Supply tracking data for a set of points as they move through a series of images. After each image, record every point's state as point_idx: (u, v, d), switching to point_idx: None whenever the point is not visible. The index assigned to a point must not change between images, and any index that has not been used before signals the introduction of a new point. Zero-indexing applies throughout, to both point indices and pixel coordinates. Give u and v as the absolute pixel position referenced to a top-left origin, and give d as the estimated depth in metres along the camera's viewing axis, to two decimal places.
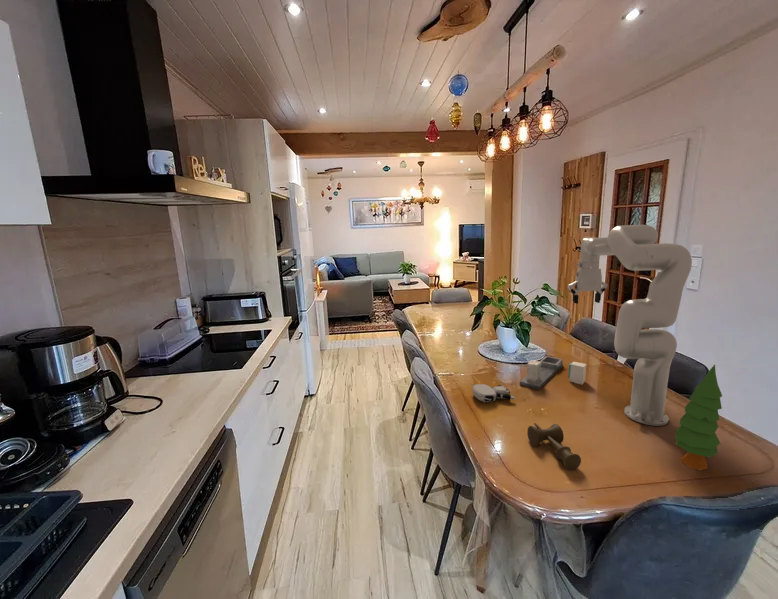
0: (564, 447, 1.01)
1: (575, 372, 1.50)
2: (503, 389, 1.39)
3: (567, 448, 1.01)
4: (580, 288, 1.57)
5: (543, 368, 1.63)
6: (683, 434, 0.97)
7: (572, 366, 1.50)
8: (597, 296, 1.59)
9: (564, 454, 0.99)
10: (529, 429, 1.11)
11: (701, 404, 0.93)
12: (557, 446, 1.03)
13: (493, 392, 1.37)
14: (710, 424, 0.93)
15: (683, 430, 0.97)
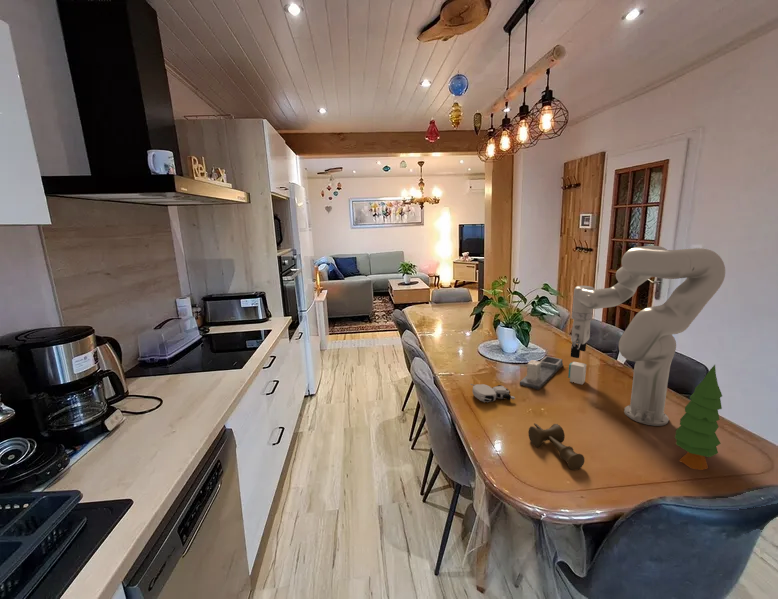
0: (567, 447, 1.01)
1: (575, 372, 1.50)
2: (503, 389, 1.39)
3: (570, 448, 1.01)
4: (583, 342, 1.43)
5: (543, 368, 1.63)
6: (683, 434, 0.97)
7: (572, 366, 1.50)
8: (583, 344, 1.52)
9: (568, 454, 0.99)
10: (530, 430, 1.10)
11: (701, 404, 0.93)
12: (560, 446, 1.03)
13: (493, 392, 1.37)
14: (710, 424, 0.93)
15: (683, 430, 0.97)
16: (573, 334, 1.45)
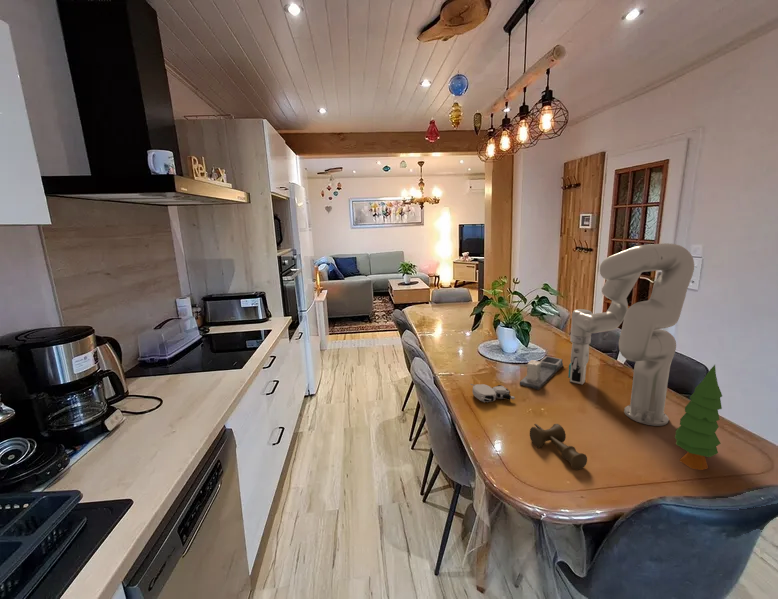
0: (569, 447, 1.01)
1: None
2: (503, 389, 1.39)
3: (572, 448, 1.01)
4: (582, 365, 1.45)
5: (543, 368, 1.63)
6: (683, 434, 0.97)
7: (572, 366, 1.50)
8: None
9: (571, 454, 0.99)
10: (532, 430, 1.10)
11: (701, 404, 0.93)
12: (562, 446, 1.03)
13: (493, 392, 1.37)
14: (710, 424, 0.93)
15: (683, 430, 0.97)
16: (572, 357, 1.46)
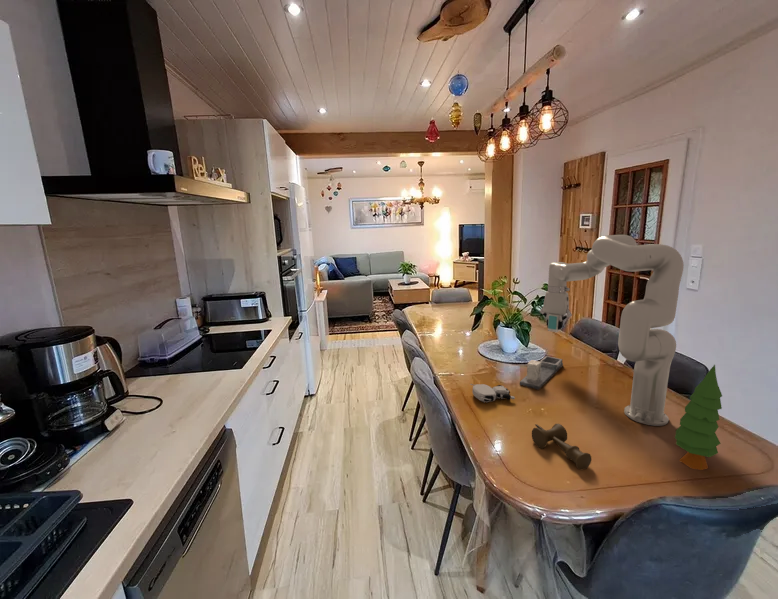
0: (573, 447, 1.01)
1: None
2: (503, 389, 1.39)
3: (576, 447, 1.01)
4: None
5: (543, 368, 1.63)
6: (683, 434, 0.97)
7: (558, 317, 1.59)
8: None
9: (575, 454, 0.99)
10: (534, 431, 1.10)
11: (701, 404, 0.93)
12: (565, 446, 1.03)
13: (493, 392, 1.37)
14: (710, 424, 0.93)
15: (683, 430, 0.97)
16: (566, 307, 1.56)
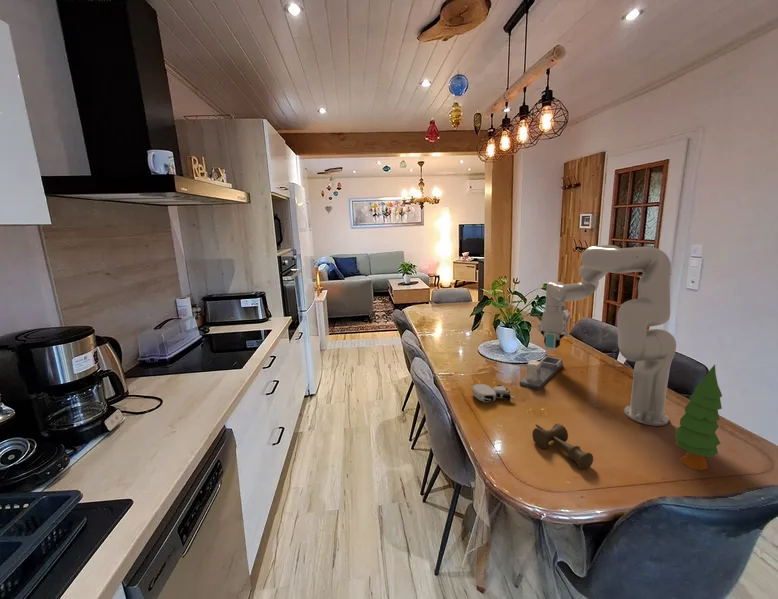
0: (575, 447, 1.01)
1: None
2: (503, 389, 1.39)
3: (578, 447, 1.01)
4: None
5: (543, 368, 1.63)
6: (683, 434, 0.97)
7: (555, 335, 1.62)
8: None
9: (577, 454, 0.99)
10: (535, 432, 1.09)
11: (701, 404, 0.93)
12: (567, 446, 1.03)
13: (493, 392, 1.37)
14: (710, 424, 0.93)
15: (683, 430, 0.97)
16: (563, 326, 1.59)
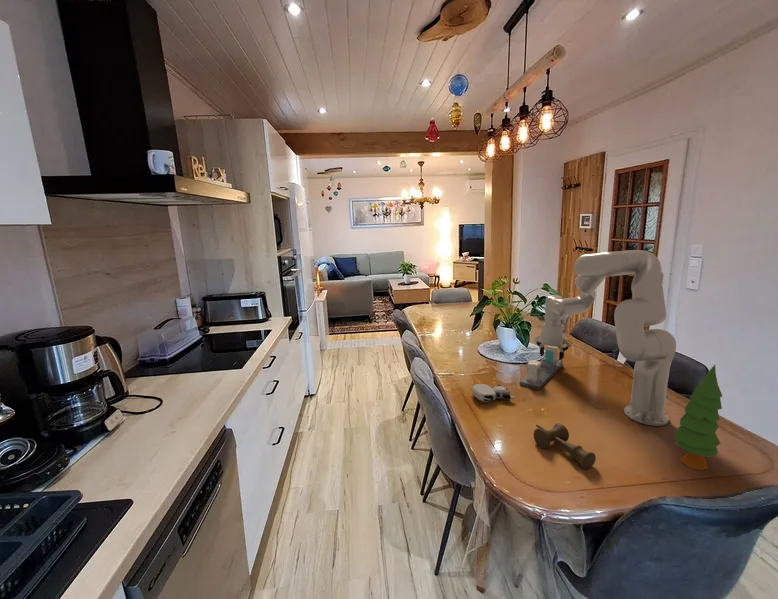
0: (577, 447, 1.01)
1: (555, 356, 1.65)
2: (503, 389, 1.39)
3: (580, 447, 1.01)
4: None
5: (543, 368, 1.63)
6: (683, 434, 0.97)
7: (554, 351, 1.63)
8: (543, 349, 1.69)
9: (580, 454, 0.99)
10: (536, 432, 1.09)
11: (701, 404, 0.93)
12: (569, 446, 1.03)
13: (493, 392, 1.37)
14: (710, 424, 0.93)
15: (683, 430, 0.97)
16: (563, 339, 1.60)
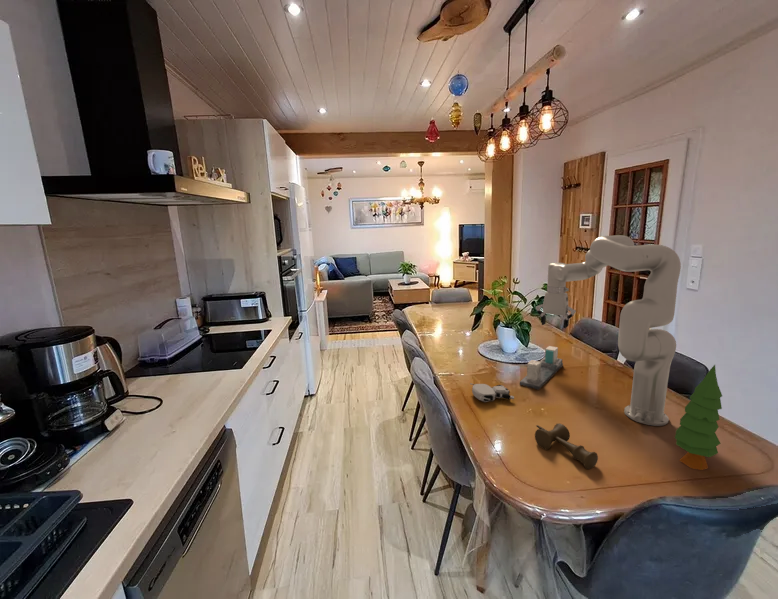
0: (579, 446, 1.01)
1: (555, 356, 1.65)
2: (503, 389, 1.39)
3: (582, 447, 1.01)
4: None
5: (543, 368, 1.63)
6: (683, 434, 0.97)
7: (554, 351, 1.63)
8: (545, 318, 1.66)
9: (582, 454, 0.99)
10: (538, 433, 1.09)
11: (701, 404, 0.93)
12: (571, 446, 1.03)
13: (492, 392, 1.37)
14: (710, 424, 0.93)
15: (683, 430, 0.97)
16: (566, 307, 1.57)
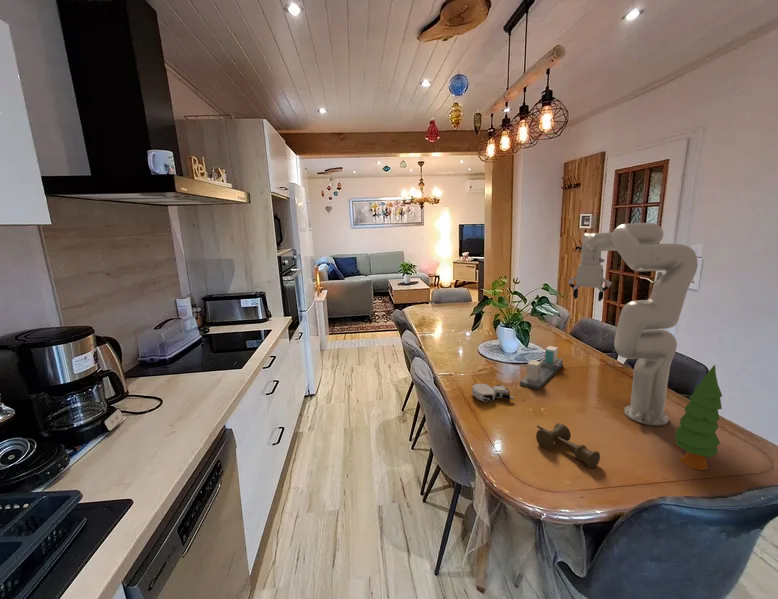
0: (581, 446, 1.01)
1: (555, 356, 1.65)
2: (502, 389, 1.39)
3: (584, 447, 1.01)
4: None
5: (543, 368, 1.63)
6: (683, 434, 0.97)
7: (554, 351, 1.63)
8: (577, 291, 1.61)
9: (585, 454, 0.99)
10: (539, 433, 1.08)
11: (701, 404, 0.93)
12: (573, 446, 1.03)
13: (492, 392, 1.37)
14: (710, 424, 0.93)
15: (683, 430, 0.97)
16: (601, 278, 1.52)
